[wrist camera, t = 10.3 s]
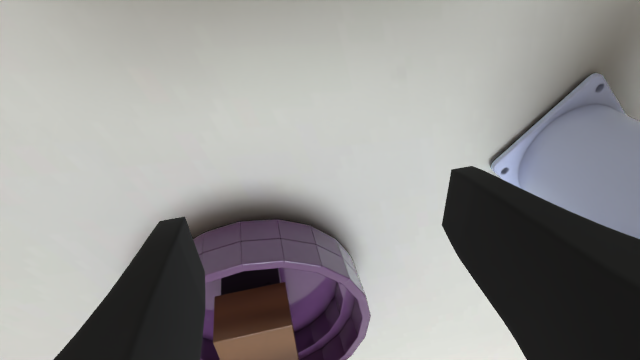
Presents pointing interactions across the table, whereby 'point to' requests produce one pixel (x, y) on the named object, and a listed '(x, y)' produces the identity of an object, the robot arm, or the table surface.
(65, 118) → the table surface
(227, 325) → the tall brown wooden block
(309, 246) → the bowl
